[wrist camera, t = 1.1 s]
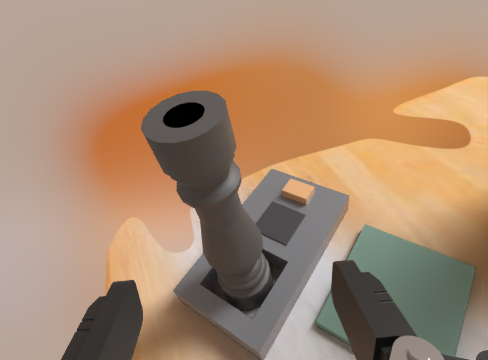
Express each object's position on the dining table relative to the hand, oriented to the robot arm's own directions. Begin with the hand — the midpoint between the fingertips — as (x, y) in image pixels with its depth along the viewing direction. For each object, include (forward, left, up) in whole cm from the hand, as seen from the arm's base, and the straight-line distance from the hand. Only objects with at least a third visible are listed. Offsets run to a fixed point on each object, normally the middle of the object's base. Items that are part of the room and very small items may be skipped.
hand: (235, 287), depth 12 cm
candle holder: (-7, -9, -24) cm, 27 cm away
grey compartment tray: (-12, -9, -24) cm, 28 cm away
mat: (-14, +6, -24) cm, 28 cm away
